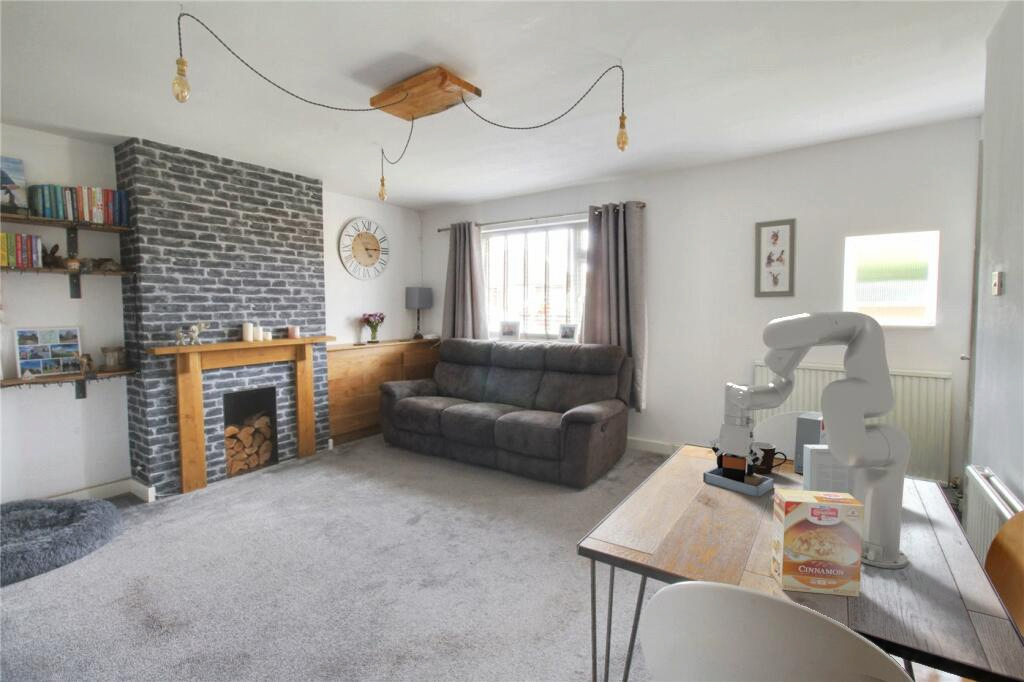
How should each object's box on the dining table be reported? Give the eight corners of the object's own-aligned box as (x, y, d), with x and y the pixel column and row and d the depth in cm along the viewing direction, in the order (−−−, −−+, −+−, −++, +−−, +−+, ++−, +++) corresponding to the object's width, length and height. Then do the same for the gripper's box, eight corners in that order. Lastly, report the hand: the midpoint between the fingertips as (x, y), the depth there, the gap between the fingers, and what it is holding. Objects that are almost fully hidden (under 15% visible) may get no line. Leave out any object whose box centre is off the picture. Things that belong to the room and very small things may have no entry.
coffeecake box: (781, 590, 102) (784, 500, 100) (769, 572, 109) (773, 487, 107) (861, 598, 99) (865, 505, 97) (843, 578, 106) (848, 491, 104)
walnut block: (757, 492, 152) (757, 479, 152) (744, 488, 155) (744, 476, 155) (762, 489, 155) (763, 476, 154) (749, 485, 158) (750, 473, 157)
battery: (723, 479, 163) (723, 450, 162) (745, 482, 160) (746, 453, 159) (722, 483, 159) (722, 454, 159) (744, 487, 156) (745, 457, 155)
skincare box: (872, 494, 151) (874, 444, 150) (883, 502, 146) (886, 450, 144) (800, 492, 153) (803, 443, 152) (809, 499, 148) (811, 448, 147)
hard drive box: (817, 478, 166) (820, 420, 164) (793, 472, 171) (795, 416, 170) (831, 467, 176) (833, 413, 174) (807, 462, 182) (809, 410, 180)
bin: (757, 499, 148) (758, 488, 148) (703, 483, 162) (703, 472, 161) (773, 489, 156) (773, 478, 156) (720, 474, 169) (720, 465, 169)
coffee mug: (741, 470, 174) (742, 442, 173) (761, 467, 176) (762, 440, 176) (767, 481, 163) (768, 452, 162) (787, 478, 165) (789, 449, 165)
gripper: (769, 423, 154) (767, 475, 155) (716, 413, 167) (715, 462, 168) (759, 427, 149) (757, 481, 150) (705, 417, 162) (704, 467, 163)
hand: (735, 471), depth 159 cm, fingers open, 9 cm apart
